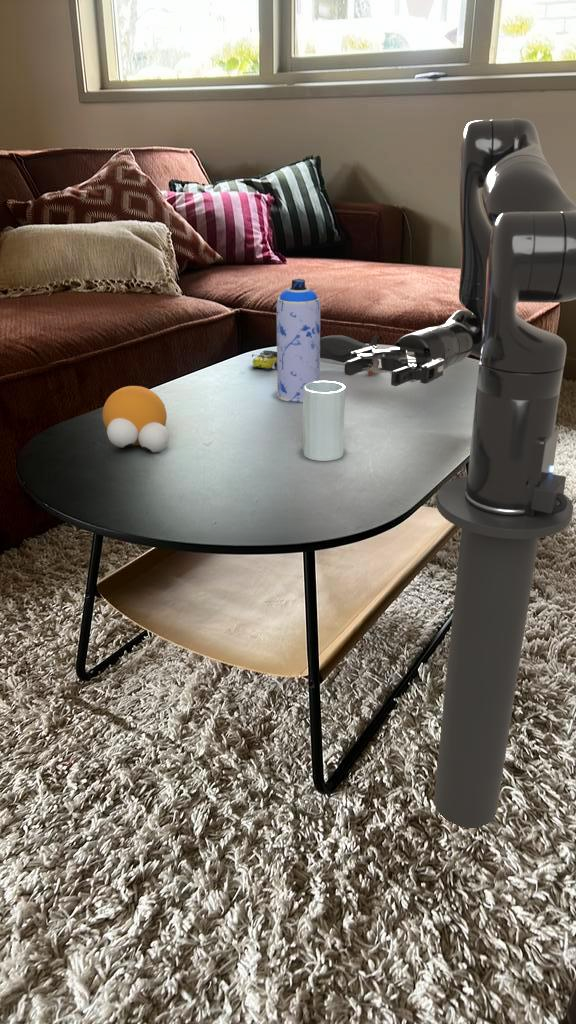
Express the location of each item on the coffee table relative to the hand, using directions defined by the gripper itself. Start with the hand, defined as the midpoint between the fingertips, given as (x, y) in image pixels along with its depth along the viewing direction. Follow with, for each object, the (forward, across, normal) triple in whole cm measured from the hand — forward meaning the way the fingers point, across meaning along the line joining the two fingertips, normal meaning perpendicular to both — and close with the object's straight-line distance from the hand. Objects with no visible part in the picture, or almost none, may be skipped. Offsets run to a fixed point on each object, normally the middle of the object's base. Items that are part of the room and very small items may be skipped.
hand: (369, 374), depth 114 cm
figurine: (-27, -25, +10) cm, 38 cm away
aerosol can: (-8, -21, +10) cm, 24 cm away
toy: (+25, -24, +10) cm, 36 cm away
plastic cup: (+11, 0, +9) cm, 14 cm away
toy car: (-21, -39, +10) cm, 45 cm away
